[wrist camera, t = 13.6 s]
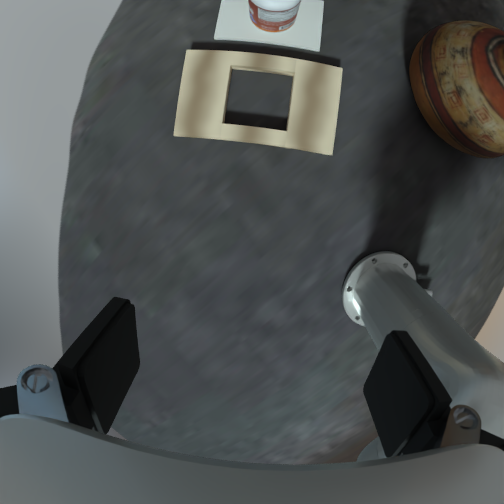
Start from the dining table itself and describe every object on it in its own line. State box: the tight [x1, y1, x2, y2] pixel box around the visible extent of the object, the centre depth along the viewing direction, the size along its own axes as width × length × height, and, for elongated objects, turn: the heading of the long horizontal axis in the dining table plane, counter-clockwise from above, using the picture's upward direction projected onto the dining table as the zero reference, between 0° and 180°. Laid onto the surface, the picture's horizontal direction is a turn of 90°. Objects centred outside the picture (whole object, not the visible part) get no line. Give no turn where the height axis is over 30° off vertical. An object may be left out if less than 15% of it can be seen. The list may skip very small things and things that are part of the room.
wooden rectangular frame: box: [174, 50, 343, 155], centre depth 33 cm, size 20×12×2 cm, turn 83°
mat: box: [214, 0, 324, 52], centre depth 29 cm, size 14×9×1 cm, turn 83°
